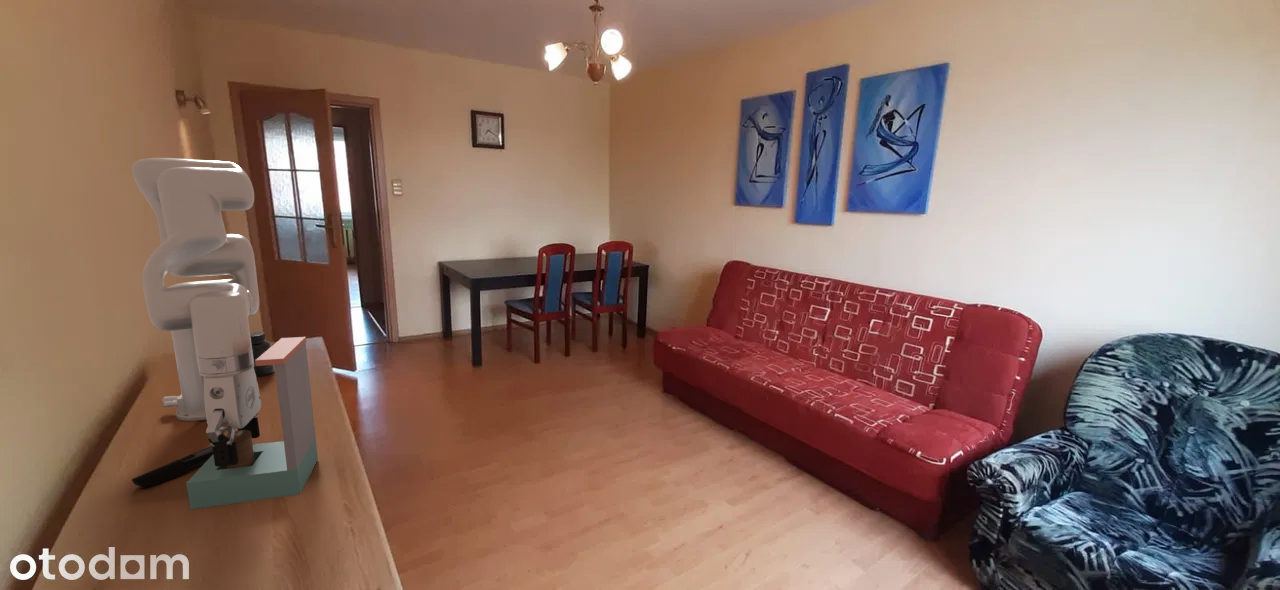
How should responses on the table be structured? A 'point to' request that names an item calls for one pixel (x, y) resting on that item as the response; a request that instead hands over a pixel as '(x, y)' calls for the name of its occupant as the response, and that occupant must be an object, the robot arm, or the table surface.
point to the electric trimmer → (173, 468)
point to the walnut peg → (243, 449)
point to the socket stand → (275, 462)
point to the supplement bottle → (260, 353)
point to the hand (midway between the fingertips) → (238, 450)
